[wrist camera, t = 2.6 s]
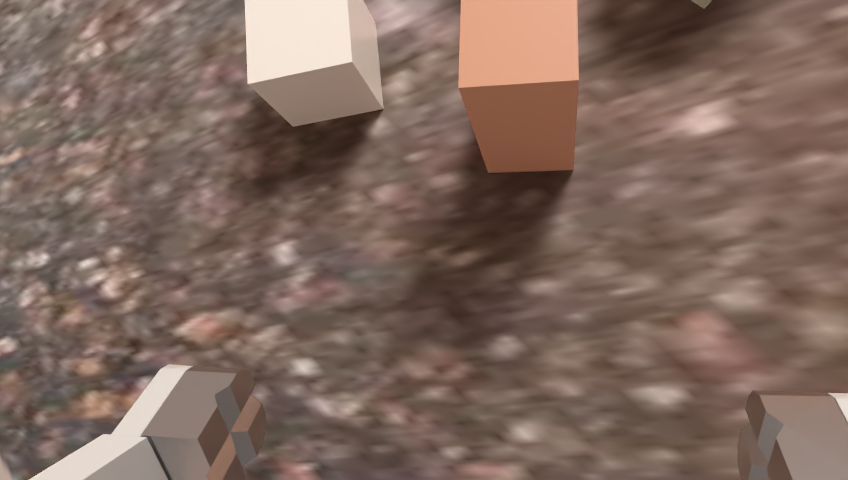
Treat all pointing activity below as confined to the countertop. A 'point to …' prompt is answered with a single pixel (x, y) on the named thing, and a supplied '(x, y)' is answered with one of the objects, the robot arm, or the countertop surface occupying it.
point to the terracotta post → (521, 81)
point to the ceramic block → (313, 58)
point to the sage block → (702, 3)
